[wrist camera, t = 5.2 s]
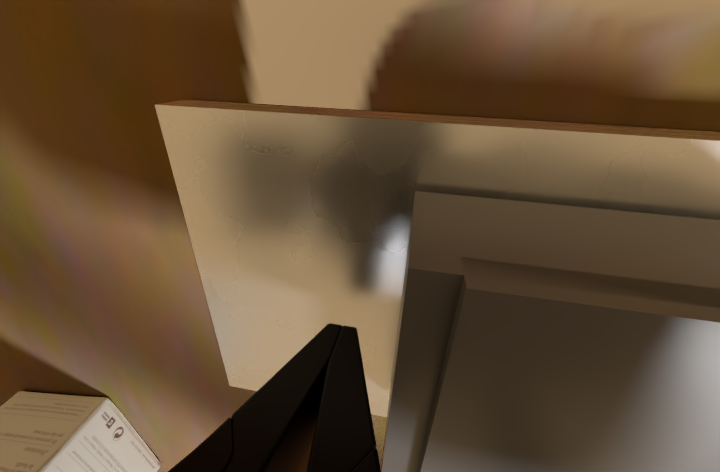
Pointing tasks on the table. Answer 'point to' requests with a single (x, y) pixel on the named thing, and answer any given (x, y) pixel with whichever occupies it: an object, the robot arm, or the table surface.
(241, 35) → the table surface
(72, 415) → the supplement box
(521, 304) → the box
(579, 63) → the table surface
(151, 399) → the table surface
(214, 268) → the pin plate
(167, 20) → the table surface
